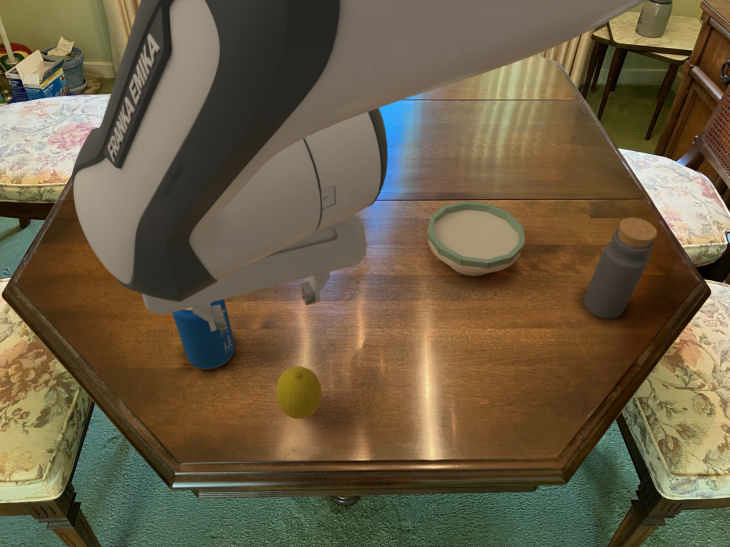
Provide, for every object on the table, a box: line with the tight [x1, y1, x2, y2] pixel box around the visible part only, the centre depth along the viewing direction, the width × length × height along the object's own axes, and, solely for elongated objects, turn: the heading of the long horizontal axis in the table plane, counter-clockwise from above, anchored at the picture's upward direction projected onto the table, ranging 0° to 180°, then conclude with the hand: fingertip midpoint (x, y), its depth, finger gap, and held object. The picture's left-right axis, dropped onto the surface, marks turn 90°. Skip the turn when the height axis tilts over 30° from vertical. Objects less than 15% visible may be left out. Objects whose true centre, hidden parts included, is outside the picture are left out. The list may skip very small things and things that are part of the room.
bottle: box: [583, 217, 658, 320], centre depth 78 cm, size 6×6×15 cm
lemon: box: [275, 366, 323, 420], centre depth 67 cm, size 6×6×8 cm
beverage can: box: [171, 299, 236, 370], centre depth 72 cm, size 6×6×12 cm
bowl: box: [426, 200, 526, 277], centre depth 88 cm, size 15×15×6 cm
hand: (265, 311), depth 54 cm, fingers open, 8 cm apart
